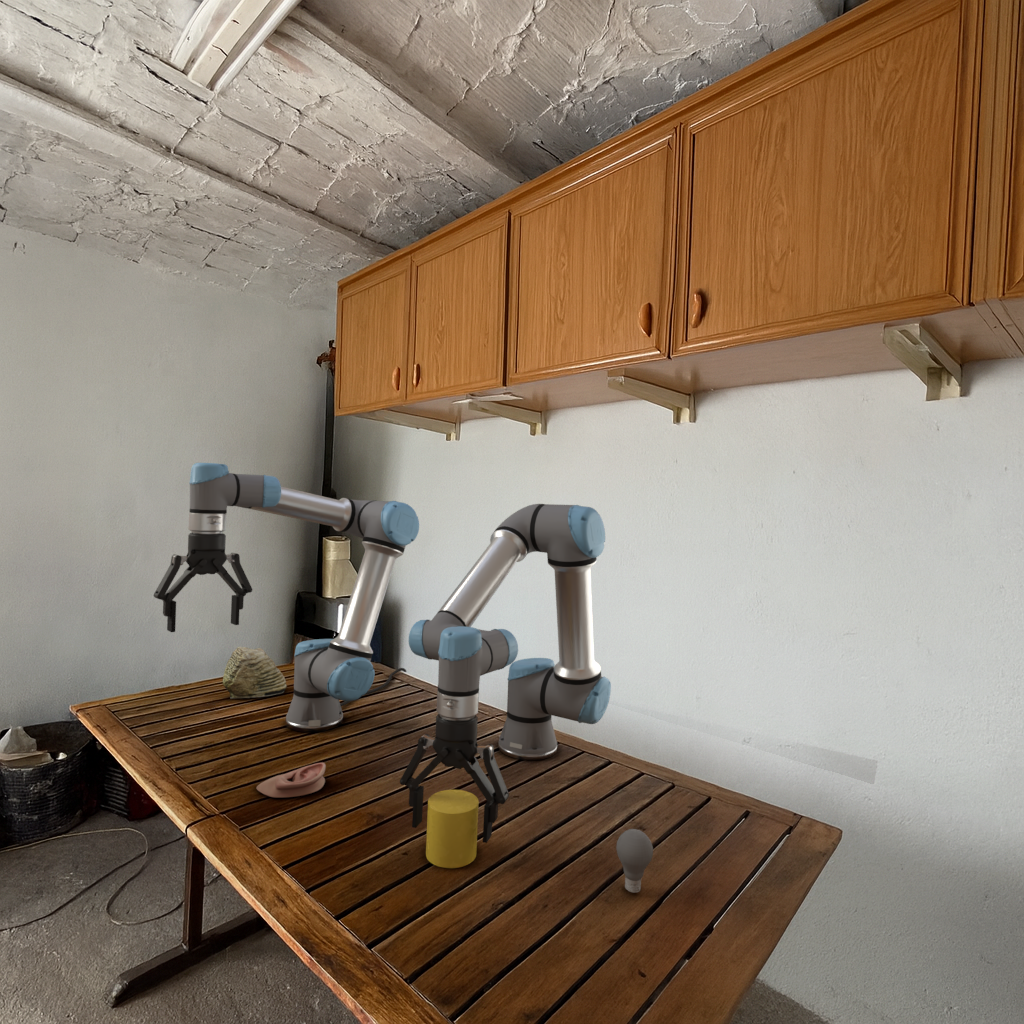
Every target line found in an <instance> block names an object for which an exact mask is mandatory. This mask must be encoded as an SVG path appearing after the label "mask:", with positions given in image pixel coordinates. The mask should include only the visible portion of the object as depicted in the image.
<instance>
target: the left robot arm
mask: <svg viewBox="0 0 1024 1024" xmlns="http://www.w3.org/2000/svg"><path fill="white" fill-rule="evenodd" d="M188 483H189V510H188V511H189V513H188V530H189V532H190V533H188V535H187V536H188V537H187V554H186V555H179V554H172V555H171V558H170V564H169V566H168V568H167V570H166V572H165V573H164V575H163V577H162V579H161V580H160V582H159V584H158V586H157V587H156V590H155V591H154V593H153V598H155V599H158V600H160V601H162V615H163V616H164V617H167V620H166V621H167V624H166V631H167V632H170V633H175V632H176V621H177V620H176V619H177V601H176V600H174V599H175V598H176V597H177V596H178V594H179V593H180V592H181V591H182V590H183V589H184V587H186V585H187V584H188V583H189V582H190V581H191V579H193V578H194V577H195V576H197V575H200V576H205V575H208V574H209V575H215V574H217V575H218V576H219V577H220V578H221V579H222V580H223V581H224V582H225V583H226V585H227V586H228V587H229V589H231V590H232V592H233V593H234V594H232V595H231V601H230V602H231V605H230V606H231V607H230V624H231V625H234V626H239V625H240V610H243V609H244V599H245V596H246V595H247V594H249V593H252V592H253V587H252V585H251V583H250V581H249V579H248V577H247V575H246V572H245V570H244V569H243V566H242V564H241V559H240V554H239V553H237V552H231V553H229V554H226V539H227V537H226V534H225V533H224V532H225V531H227V512H228V507H237V508H243V509H248V510H252V511H258V512H263V513H267V514H273V515H277V516H282V517H287V518H291V519H296V520H301V521H305V522H310V523H315V524H321V525H325V526H330V527H332V528H333V529H334V530H335V531H336V532H341V533H345V534H349V535H351V536H355V537H357V538H359V539H362V541H361V544H362V546H363V548H364V554H363V556H362V559H361V563H360V565H359V569H358V572H357V575H356V579H355V582H354V585H353V588H352V590H351V594H350V597H349V600H348V603H347V607H346V610H345V612H344V616H343V620H342V622H341V625H340V629H339V632H338V635H337V636H336V637H335V638H319V639H308V640H303V641H300V642H297V644H296V646H295V650H294V655H293V657H294V672H293V695H292V696H293V697H292V699H291V702H290V704H289V708H288V711H287V713H286V715H285V726H286V728H287V729H289V730H291V731H294V732H295V731H296V732H301V733H316V732H325V731H329V730H332V729H335V728H337V727H339V726H340V725H342V723H343V722H344V713H343V709H342V707H344V706H346V705H348V704H349V703H350V702H353V701H357V700H359V699H360V698H361V697H363V696H366V695H370V694H373V693H376V692H377V691H380V690H382V689H384V688H386V687H387V686H388V685H389V683H390V682H391V680H392V678H393V676H394V675H396V674H397V673H399V672H400V671H402V672H403V673H407V669H405V668H404V667H399V668H397V669H396V670H393V672H391V673H390V674H389V676H388V678H387V680H386V681H385V682H384V683H383V684H381V685H379V686H377V687H375V688H372V685H373V683H374V681H375V674H376V672H375V668H374V665H373V664H372V662H371V661H372V658H373V654H374V650H373V649H372V647H371V641H372V639H373V635H374V632H375V628H376V624H377V622H378V619H379V615H380V612H381V608H382V605H383V602H384V599H385V595H386V593H387V589H388V586H389V582H390V579H391V576H392V573H393V570H394V566H395V564H396V560H397V559H398V558H400V557H402V556H403V555H404V553H405V549H406V546H408V545H410V544H411V543H412V542H414V541H415V540H416V539H417V537H418V534H419V531H420V520H419V517H418V515H417V512H416V510H415V509H414V508H413V507H412V506H410V505H409V504H408V503H406V502H401V501H398V500H374V499H371V500H370V499H369V500H368V499H367V500H365V499H364V500H363V499H360V500H359V499H352V498H347V497H341V498H340V499H336V498H332V497H327V496H323V495H320V494H316V493H310V492H306V491H302V490H298V489H294V488H290V487H285V486H282V485H281V482H280V480H279V478H278V477H276V476H274V475H266V474H250V473H249V474H247V473H232V472H230V471H229V466H228V464H225V463H215V462H195V463H194V464H192V465H191V469H190V478H189V482H188ZM185 562H186V564H187V565H188V566H187V568H186V569H185V570H184V571H183V573H182V574H181V576H180V577H179V578H178V579H177V580H176V581H175V582H174V583H173V581H174V579H175V578H176V575H177V574H178V572H179V571H180V569H181V566H183V565H184V564H185ZM226 562H228V563H229V564H230V565H231V568H232V569H233V572H234V574H235V577H236V578H237V580H238V582H239V583H238V582H237V581H235V579H234V578H233V576H231V575H230V574H229V572H228V570H227V569H226V568H225V567H224V564H225V563H226ZM172 583H173V584H172ZM239 584H240V585H239ZM170 586H171V587H170ZM371 688H372V689H371ZM340 701H342V702H340Z"/></svg>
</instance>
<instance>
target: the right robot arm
mask: <svg viewBox="0 0 1024 1024" xmlns="http://www.w3.org/2000/svg"><path fill="white" fill-rule="evenodd" d="M489 541H490V543H489V544H488V546H487V547H486V549H485V550H484V551H483V552H482V553H481V555H480V556H479V558H478V559H477V560H476V562H475V563H474V564H473V565H472V567H471V568H470V569H469V570H468V572H467V573H466V575H465V576H464V577H463V578H462V580H461V581H460V583H459V584H458V585H457V586H456V588H455V589H454V590H453V591H452V593H451V594H450V596H449V597H448V598H447V599H446V601H445V602H444V603H443V604H442V606H441V607H440V608H439V610H438V611H437V613H436V614H435V615H434V616H433V617H432V619H420V620H418V621H416V622H415V623H414V624H413V625H412V626H411V628H410V630H409V633H408V646H409V648H410V651H411V652H412V653H413V654H414V655H416V656H419V657H421V658H424V659H427V660H430V661H431V660H434V661H438V675H437V676H438V681H437V683H438V684H437V691H436V692H437V693H436V694H437V695H436V710H435V711H436V713H437V715H436V716H435V731H434V734H435V736H434V737H431V736H430V735H429V733H424V734H423V735H422V736H421V737H419V738H418V740H417V746H416V750H415V752H414V754H413V756H412V757H411V759H410V761H409V763H408V765H407V767H406V768H405V770H404V772H403V773H402V776H401V778H400V779H399V784H400V785H401V786H406V787H407V788H408V791H409V792H408V793H409V794H408V805H409V807H412V820H411V822H412V823H411V827H412V828H414V829H417V828H418V827H419V825H420V824H421V823H422V822H423V814H424V813H423V812H424V811H423V810H424V809H423V808H424V791H425V790H424V789H425V786H424V785H421V784H422V782H423V781H424V780H426V778H427V777H428V776H429V775H430V774H431V773H432V772H433V771H434V770H435V769H436V768H437V767H438V766H439V764H443V765H444V767H446V768H452V767H453V768H455V769H457V770H462V769H464V770H465V772H466V774H469V775H470V778H472V780H473V782H474V783H475V785H476V786H477V788H478V789H479V791H480V792H481V795H483V797H484V798H485V800H486V802H485V804H483V805H484V806H483V826H482V827H483V828H482V843H483V844H484V843H485V844H487V843H488V842H489V840H490V839H491V838H492V836H493V824H495V822H496V821H497V819H498V817H499V805H500V804H501V805H504V804H505V803H506V802H507V800H508V799H509V797H510V793H509V790H508V788H507V785H506V783H505V780H504V778H503V775H502V773H501V770H500V768H499V765H498V763H497V760H496V758H495V747H494V745H493V744H492V743H488V744H487V745H479V744H478V740H477V739H478V737H477V736H478V721H479V720H478V719H479V718H478V717H479V716H477V714H478V713H479V702H480V701H479V698H480V681H481V676H484V675H486V674H490V673H492V672H493V673H494V672H496V671H499V670H503V669H505V668H506V667H507V666H509V668H508V677H507V698H506V699H507V703H506V719H505V721H504V724H503V726H502V730H501V732H500V735H499V738H498V746H497V748H498V750H499V752H501V753H502V754H504V755H505V756H506V757H507V756H508V757H511V758H512V759H518V760H523V761H540V760H544V759H549V758H551V757H553V756H555V755H556V753H558V739H557V737H556V733H555V729H554V725H553V722H552V716H553V717H557V718H562V719H565V720H570V721H574V722H577V723H579V724H582V723H584V724H588V725H596V724H598V722H599V721H601V720H602V719H603V716H604V715H605V713H606V711H607V707H608V705H609V702H610V698H611V692H612V683H611V681H610V679H609V678H608V677H606V676H602V667H601V665H600V663H599V662H598V661H596V660H595V643H594V642H595V641H594V624H593V623H594V618H593V617H594V616H593V597H592V574H591V573H592V571H591V569H592V567H593V566H594V565H595V564H596V563H597V560H598V559H597V558H598V557H600V556H601V555H602V553H603V552H604V549H605V542H606V528H605V525H604V521H603V519H602V516H601V514H599V512H598V511H597V510H596V509H595V508H593V507H590V506H583V505H580V504H551V503H550V504H549V503H548V504H547V503H546V504H545V503H534V504H529V505H527V506H524V507H522V508H520V509H518V510H516V511H515V512H513V513H512V514H510V515H509V516H507V517H506V518H505V519H504V520H503V521H502V522H501V523H500V524H499V525H498V526H497V527H496V528H495V530H494V531H493V532H492V533H491V535H490V539H489ZM535 552H537V553H544V554H546V556H547V564H548V565H549V566H550V567H551V568H552V569H553V570H554V586H555V587H554V588H555V601H556V602H555V604H556V607H555V608H556V622H557V624H556V625H557V639H558V640H557V642H558V643H557V644H558V657H559V658H558V662H557V663H556V664H555V660H553V659H551V658H547V657H530V658H522V659H518V660H517V656H518V653H519V644H518V643H519V642H518V641H517V638H516V637H515V635H514V634H513V633H512V632H511V631H509V630H508V629H505V628H492V629H491V630H486V629H481V628H480V629H479V628H476V627H472V626H473V624H474V623H475V622H476V620H477V619H478V618H479V616H480V615H481V613H482V612H483V611H484V609H485V608H486V607H487V605H488V603H489V602H490V600H491V599H492V598H493V596H494V595H495V593H496V592H497V590H498V589H499V588H500V586H501V585H502V583H503V582H504V581H505V579H506V577H507V576H508V575H509V574H510V572H511V571H512V569H513V568H514V566H515V565H516V564H517V563H520V562H522V561H523V560H524V559H526V557H527V555H529V554H531V553H535ZM430 748H433V750H434V752H435V753H436V756H435V757H434V758H433V759H432V760H431V761H430V762H429V764H427V766H426V767H424V769H423V770H422V771H421V772H420V773H419V774H418V775H417V776H416V777H415V778H414V774H415V773H416V771H417V769H418V767H419V765H420V764H421V762H422V759H423V758H424V756H425V754H426V752H427V751H428V750H429V749H430ZM477 754H478V755H479V756H480V759H481V760H483V765H484V767H485V770H486V773H487V775H488V776H487V775H486V773H485V772H484V770H483V768H481V766H480V762H479V760H478V758H477V757H476V755H477Z"/></svg>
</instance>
